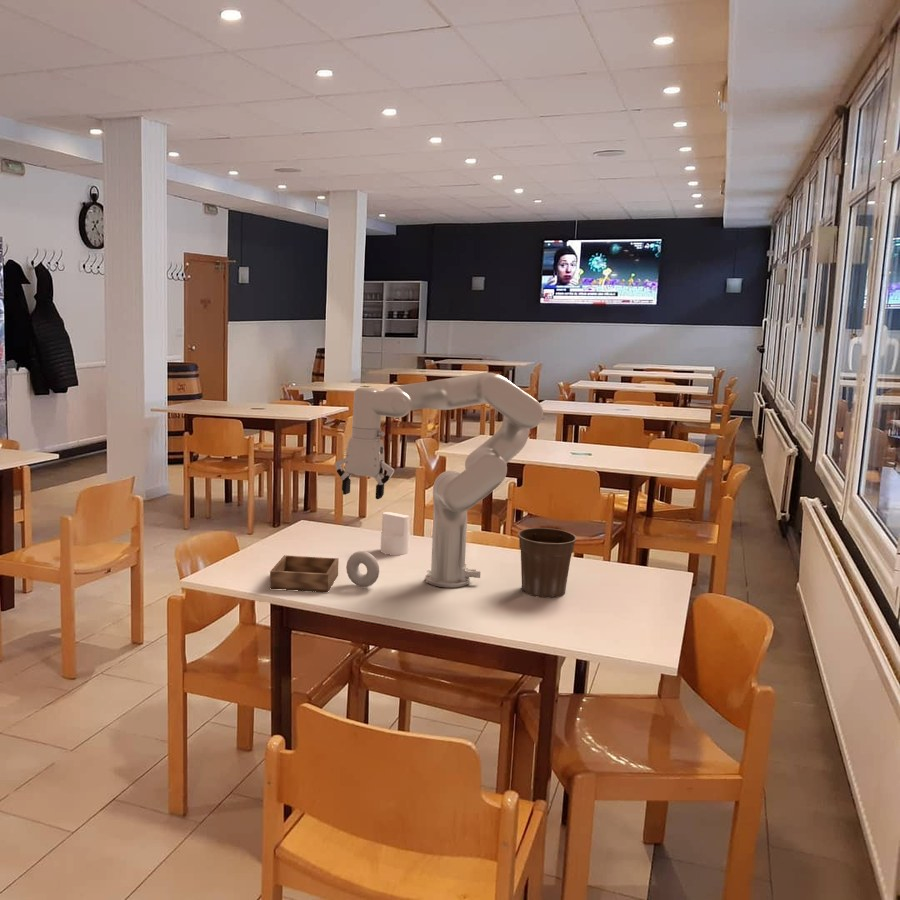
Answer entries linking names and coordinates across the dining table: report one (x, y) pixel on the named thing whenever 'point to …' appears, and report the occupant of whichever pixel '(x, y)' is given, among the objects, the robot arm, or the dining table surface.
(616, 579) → the dining table surface
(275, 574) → the walnut box
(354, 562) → the donut
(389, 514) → the white block
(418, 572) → the dining table surface
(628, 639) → the dining table surface
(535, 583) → the plant pot
